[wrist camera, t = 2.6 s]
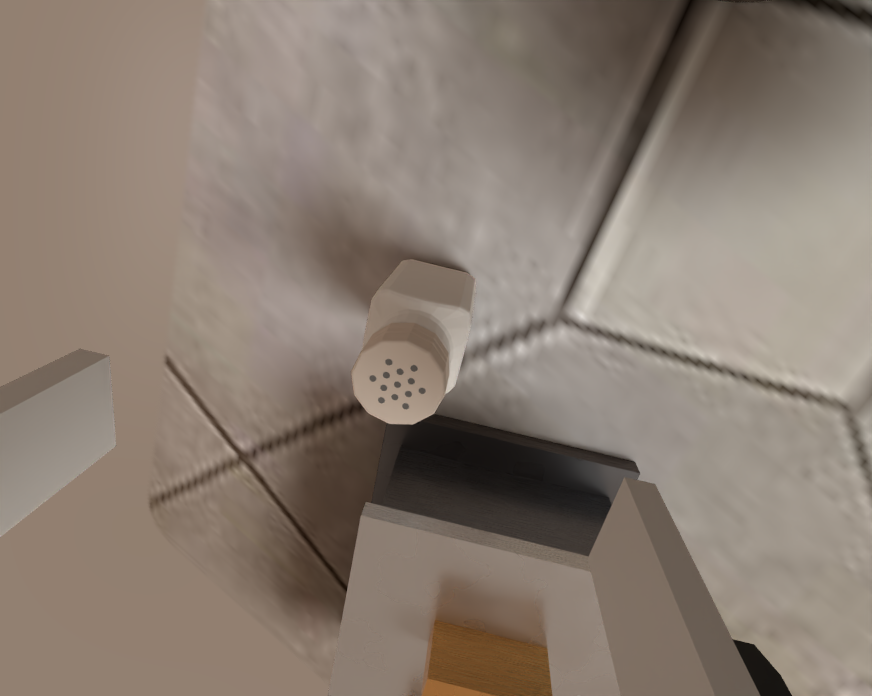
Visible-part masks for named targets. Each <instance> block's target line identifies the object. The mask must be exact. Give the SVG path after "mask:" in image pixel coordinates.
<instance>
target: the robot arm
mask: <svg viewBox="0 0 872 696" xmlns="http://www.w3.org/2000/svg"><path fill="white" fill-rule="evenodd" d="M718 1H726V2H761V1H770V0H718ZM115 446H116V438H115V424H114V411H113V398H112V384H111V371H110V357H109V355H104V354H100V353H96V352H92V351H87V350H83V349H79V350H76V351H74V352H72V353H70V354H68V355H66V356H64V357H62V358H60V359H57V360H55V361H53V362H51V363H49V364H47V365H45V366H43V367H41V368H39V369H37V370H34V371H32V372H30V373H28V374H26V375H24V376H22V377H20V378H18V379H16V380H14V381H12V382H9V383H7V384H5V385H3V386H1V387H0V537H1V536H2V535H3V534H5V533H6V532H7V531H8V530H10V529H11V528H12V527H13V526H15V525H16V524H17V523H18V522H20V521H21V520H22V519H24V518H25V517H26V516H27V515H29V514H30V513H31V512H33V511H34V510H35V509H36V508H37V507H39V506H40V505H41V504H43V503H44V502H45V501H47V500H48V499H49V498H50V497H51V496H53V495H54V494H55V493H57V492H58V491H59V490H60V489H62V488H63V487H64V486H65V485H67V484H68V483H69V482H71V481H72V480H73V479H74V478H76V477H77V476H78V475H80V474H81V473H82V472H83V471H85V470H86V469H87V468H89V467H90V466H91V465H92V464H94V463H95V462H96V461H97V460H99V459H100V458H101V457H103V456H104V455H105V454H106V453H108V452H109V451H110V450H111V449H113V448H114V447H115ZM588 562H589V566H590V570H591V574H592V578H593V582H594V587H595V591H596V595H597V599H598V603H599V607H600V611H601V616H602V620H603V624H604V628H605V632H606V636H607V640H608V645H609V649H610V653H611V657H612V661H613V665H614V670H615V674H616V678H617V682H618V686H619V690H620V694H621V696H792V695H791V693H790V691H789V690H788V688H787V686H786V684H785V682H784V681H783V679H782V677H781V675H780V674H779V673H778V672H777V671H776V669H775V668H774V667H773V666H772V665H771V664H770V662H769V661H768V660H767V659H766V658H765V657H764V656H763V654H762V653H761V652H760V651H759V650H758V649H757V647H756V646H755V645H754V644H750V643H746V642H741V641H737V640H733V639H732V638H731V636H730V634H729V632H728V630H727V628H726V626H725V624H724V622H723V620H722V618H721V616H720V614H719V612H718V610H717V608H716V606H715V603H714V601H713V599H712V597H711V595H710V593H709V591H708V589H707V587H706V585H705V583H704V581H703V579H702V577H701V575H700V573H699V571H698V569H697V567H696V565H695V563H694V561H693V559H692V557H691V555H690V553H689V551H688V549H687V547H686V545H685V543H684V541H683V539H682V537H681V535H680V533H679V531H678V529H677V527H676V525H675V523H674V521H673V519H672V517H671V515H670V513H669V511H668V509H667V507H666V505H665V503H664V501H663V499H662V497H661V495H660V493H659V491H658V489H657V487H656V485H655V484H652V483H648V482H644V481H639V480H635V479H631V478H627V477H624V479H623V481H622V484H621V486H620V488H619V490H618V492H617V495H616V497H615V499H614V501H613V503H612V506H611V508H610V510H609V512H608V515H607V517H606V519H605V521H604V523H603V526H602V528H601V530H600V532H599V535H598V537H597V539H596V541H595V543H594V546H593V548H592V550H591V552H590V555H589V557H588Z"/></svg>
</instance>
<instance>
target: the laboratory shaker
mask: <svg viewBox="0 0 872 696" xmlns="http://www.w3.org/2000/svg"><path fill="white" fill-rule="evenodd" d="M639 475H640V472H639V470H638V468H637V465H636V463H635V462H632V461H628V460H624V459H619V458H615V457H611V456H607V455H603V454H598V453H594V452H590V451H586V450H582V449H578V448H573V447H569V446H565V445H561V444H557V443H553V442H548V441H544V440H540V439H536V438H532V437H527V436H523V435H519V434H515V433H511V432H507V431H502V430H498V429H494V428H490V427H486V426H482V425H477V424H473V423H469V422H465V421H461V420H456V419H452V418H448V417H444V416H440V415H436V414H433V415H431V416H429V417H427V418H425V419H423V420H421V421H419V422H417V423H415V424H388V423H387V424H386V430H385V435H384V440H383V445H382V450H381V456H380V461H379V466H378V471H377V476H376V482H375V487H374V492H373V497H372V502H371V503H369V502H366V503H365V506H364V508H363V511H362V514H361V517H360V523H359V528H358V534H357V539H356V545H355V550H354V556H353V561H352V566H351V572H350V577H349V583H348V588H347V594H346V599H345V605H344V610H343V615H342V621H341V626H340V632H339V637H338V643H337V648H336V654H335V659H334V665H333V670H332V675H331V681H330V686H329V692H328V696H621V694H620V690H619V686H618V682H617V678H616V674H615V670H614V665H613V661H612V657H611V653H610V649H609V645H608V640H607V636H606V632H605V628H604V624H603V620H602V616H601V611H600V607H599V603H598V599H597V595H596V591H595V587H594V582H593V578H592V574H591V570H590V566H589V562H588V557H589V555H590V552H591V550H592V548H593V546H594V543H595V541H596V539H597V537H598V535H599V532H600V530H601V528H602V526H603V523H604V521H605V519H606V517H607V515H608V512H609V510H610V508H611V506H612V503H613V501H614V499H615V497H616V495H617V492H618V490H619V488H620V486H621V484H622V481H623V479H624V477H627V478H631V479H635V480H637V479H638V477H639Z"/></svg>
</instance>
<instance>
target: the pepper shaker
mask: <svg viewBox="0 0 872 696" xmlns="http://www.w3.org/2000/svg"><path fill="white" fill-rule="evenodd" d="M475 294H476V281H475V278H474V277H473V276H471V275H470V274H468V273H466V272H462V271H458V270H454V269H450V268H446V267H442V266H437V265H433V264H429V263H425V262H421V261H417V260H413V259H409V260H403V261H401V263H400V264H399V265H398V266H397V267H396V269H395V270H394V271H393V272H392V273H391V275H390V276H389V277H388V278H387V279H386V281H385V282H384V283H383V284H382V285H381V287H380V288H379V289H378V291H377V292H376V293H375V295H374V296H373V298H372V300H371V304H370V309H369V314H368V319H367V324H366V329H365V335H364V342H363V348H362V351H361V353H360V355H359V357H358V359H357V361H356V363H355V365H354V367H353V369H352V371H351V376H352V384H353V392H354V395H355V397H356V398H357V399H358V401H359V402H360V403H361V405H362V406H363V407H364V409H365V410H366V411H367V413H369V414H370V415H372V416H374V417H376V418H378V419H380V420H382V421H384V422H386V423H388V424H415V423H417V422H419V421H421V420H423V419H425V418H427V417H429V416H431V415H433V414H434V413H435V411H436V409H437V408H438V406H439V404H440V403H441V401H442V399H443V398H444V396H445V393H448V392H449V391H450V390H451V389H452V388H453V387H454V386H455V384H456V381H457V377H458V374H459V370H460V366H461V363H462V359H463V355H464V351H465V347H466V344H467V340H468V336H469V332H470V328H471V324H472V317H473V309H474V302H475Z"/></svg>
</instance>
